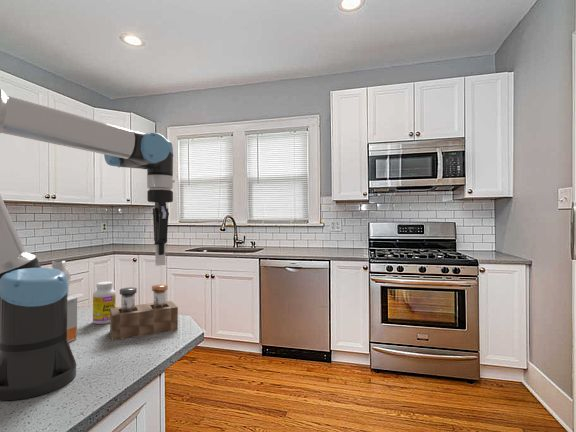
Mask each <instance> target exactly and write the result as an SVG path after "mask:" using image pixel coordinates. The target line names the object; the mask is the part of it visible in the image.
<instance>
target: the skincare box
mask: <svg viewBox="0 0 576 432" xmlns="http://www.w3.org/2000/svg"><path fill="white" fill-rule="evenodd" d="M77 333H78V297H74V296H68V297H67V341H68V343H70V342H73V341H77V335H78V334H77Z"/></svg>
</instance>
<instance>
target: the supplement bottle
mask: <svg viewBox="0 0 576 432" xmlns="http://www.w3.org/2000/svg"><path fill="white" fill-rule="evenodd" d="M113 284H114V283H113V282H112V281H100V282H97V283H96V288H97V289H96V290H95V291H94V292H93V293H92V294H93V295H92V323H93V324H95V325H104V324H105V325H106V324H110V308H116V304H117V303H116V297H117V296H116V294H117V293H116V290H114V289H113V287H114V286H113Z"/></svg>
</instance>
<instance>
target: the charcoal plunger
mask: <svg viewBox="0 0 576 432" xmlns="http://www.w3.org/2000/svg"><path fill="white" fill-rule="evenodd" d="M137 291H138V289H137V287H122V288H120V289H119V295H121V307H122V311H121V313H124V312H131V311H135V304H136V301H135V300H136V298H135V297H136V294H137V293H138V292H137Z"/></svg>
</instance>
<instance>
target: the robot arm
mask: <svg viewBox="0 0 576 432" xmlns="http://www.w3.org/2000/svg"><path fill="white" fill-rule="evenodd" d="M0 134H4V135H10V136H15V137H18V138H19V137H20V138H24V139H29V140H34V141H39V142H44V143H48V144H54V145H57V146H61V147H68V148H72V149H77V150H82V151H87V152H91V153H97V154H102V155H103V156H104V161H105V163H106V164H107V165H109V166H111V167H117V168H129V169H141V170H146V171H147V172H146V173H147V175H146V179H147V180H146V183H147V185H146V187H147V189H148V190H147V191H146V192H147V196H146V197H147V198H146V199H147V202H149V203H154V208H152V221H153V241H154V245H155V247H154V249H155V255H154V256H155V266H157V267H158V266H166V244H167V243H168V229H169V228H168V227H169V226H168V225H169V216H170V212H169V208H167V204H168V203H173V201H174V192H173V189H174V188H173V187H174V184H173V183H175V179H173V178H174V175H173V173H174V148H173V147H174V146H173V143H172V142H171V140H168V139H167V138H166V137H165V136H164V135H162V134H160V133H159V132H148V133H144V132H140V131H136V130H132V129H129V128H124V127H121V126H118V125H113V124H111V123H107V122H103V121H100V120H96V119H92V118H89V117H87V116H86V117H84V116H82V115H78V114H74V113H71V112H67V111H64V110H60V109H56V108H53V107H48V106H46V105H42V104H40V103H39V104H38V103H35V102H31V101H28V100H24V99H21V98H17V97H14V96H10V95H7V94H6V93H5V92H4V90H3V89H2V88H0ZM67 292H68V283H67V277H66V275H65V273H64V272H62V271H60V270H58V269H53V268H49V267H42V266H41V264H40V261H39V259H38V257H37V255H36V254H33V253H30V252H28V251H26V249H25V247H24V244H23V243H22V240H21V238H20V236H19V233H18V231H17V228H16V227H15V225H14V222H13V219H12V217H11V215H10V213H9V211H8V209H7V206H6V203H5V202H4V199H3V198H2V195H1V194H0V401H16V400H24V399H29V398H34V397H38V396H40V395H45V394H47V393H50V392H53V391H55V390H57V389H60V388H62V387H64V386H65V385H67V384H68V383H70V382H71V381H73V380H74V379H75V377H76V376H77V362H76V359H75V356H74V353H73V352H72V349H71V346H70V344H69V342H68V341H67ZM68 293H69V292H68Z"/></svg>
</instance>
